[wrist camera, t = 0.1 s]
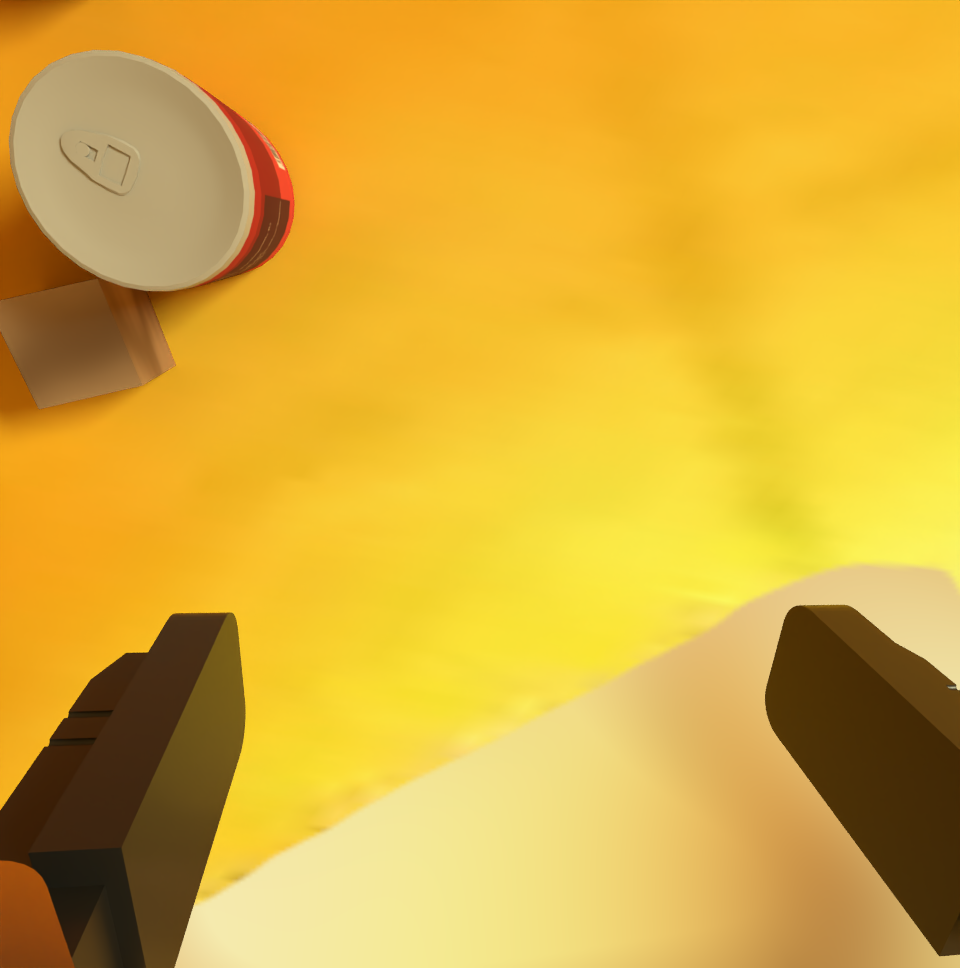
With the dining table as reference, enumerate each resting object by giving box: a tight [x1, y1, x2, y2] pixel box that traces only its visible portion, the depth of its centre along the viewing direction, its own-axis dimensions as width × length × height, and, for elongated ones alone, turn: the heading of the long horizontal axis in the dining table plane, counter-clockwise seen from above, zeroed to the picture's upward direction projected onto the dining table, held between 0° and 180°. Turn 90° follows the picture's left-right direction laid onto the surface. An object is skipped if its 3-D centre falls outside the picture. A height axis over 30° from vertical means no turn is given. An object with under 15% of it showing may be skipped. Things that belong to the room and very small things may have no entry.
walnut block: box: [0, 278, 176, 409], centre depth 32 cm, size 5×5×5 cm
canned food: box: [9, 50, 294, 291], centre depth 27 cm, size 8×8×11 cm
